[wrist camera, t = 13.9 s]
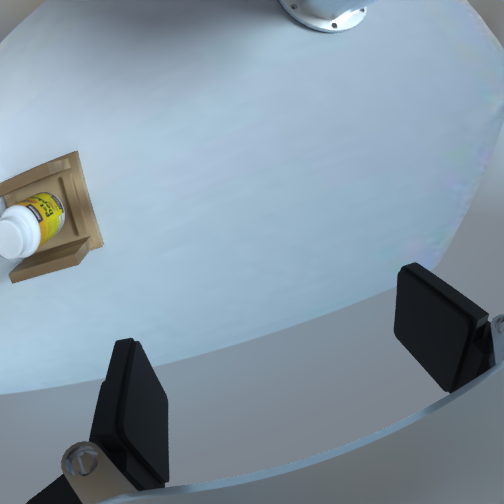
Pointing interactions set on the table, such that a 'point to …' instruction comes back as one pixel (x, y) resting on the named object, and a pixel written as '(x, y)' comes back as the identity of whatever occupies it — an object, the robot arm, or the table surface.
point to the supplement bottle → (30, 225)
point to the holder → (76, 215)
